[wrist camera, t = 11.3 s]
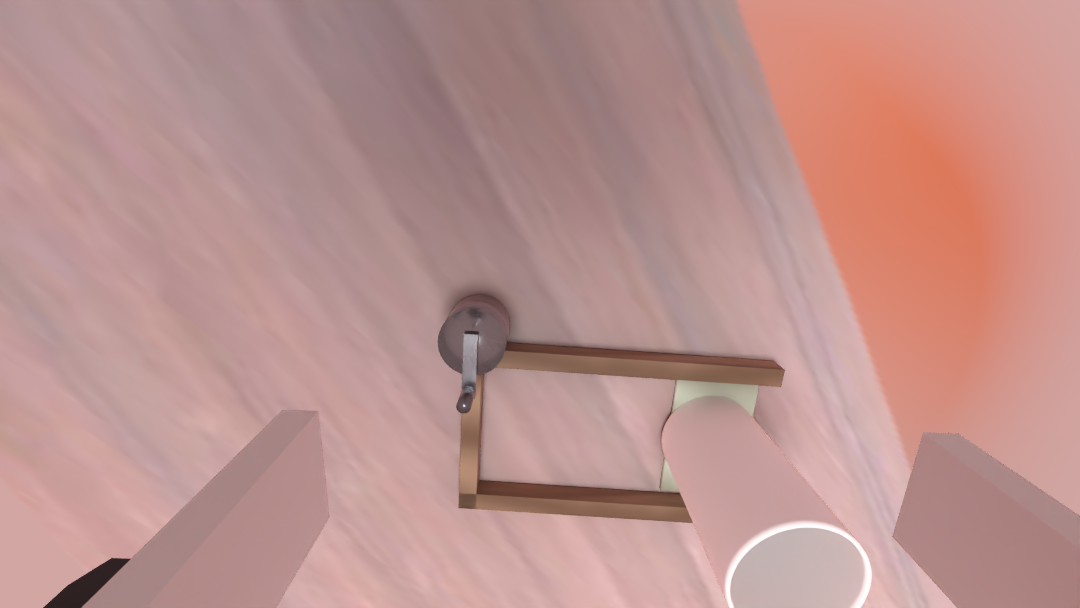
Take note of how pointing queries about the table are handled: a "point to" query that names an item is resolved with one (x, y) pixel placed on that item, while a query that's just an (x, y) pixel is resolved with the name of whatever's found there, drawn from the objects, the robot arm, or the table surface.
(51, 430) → the table surface
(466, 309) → the winch drum
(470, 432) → the frame
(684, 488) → the cup
